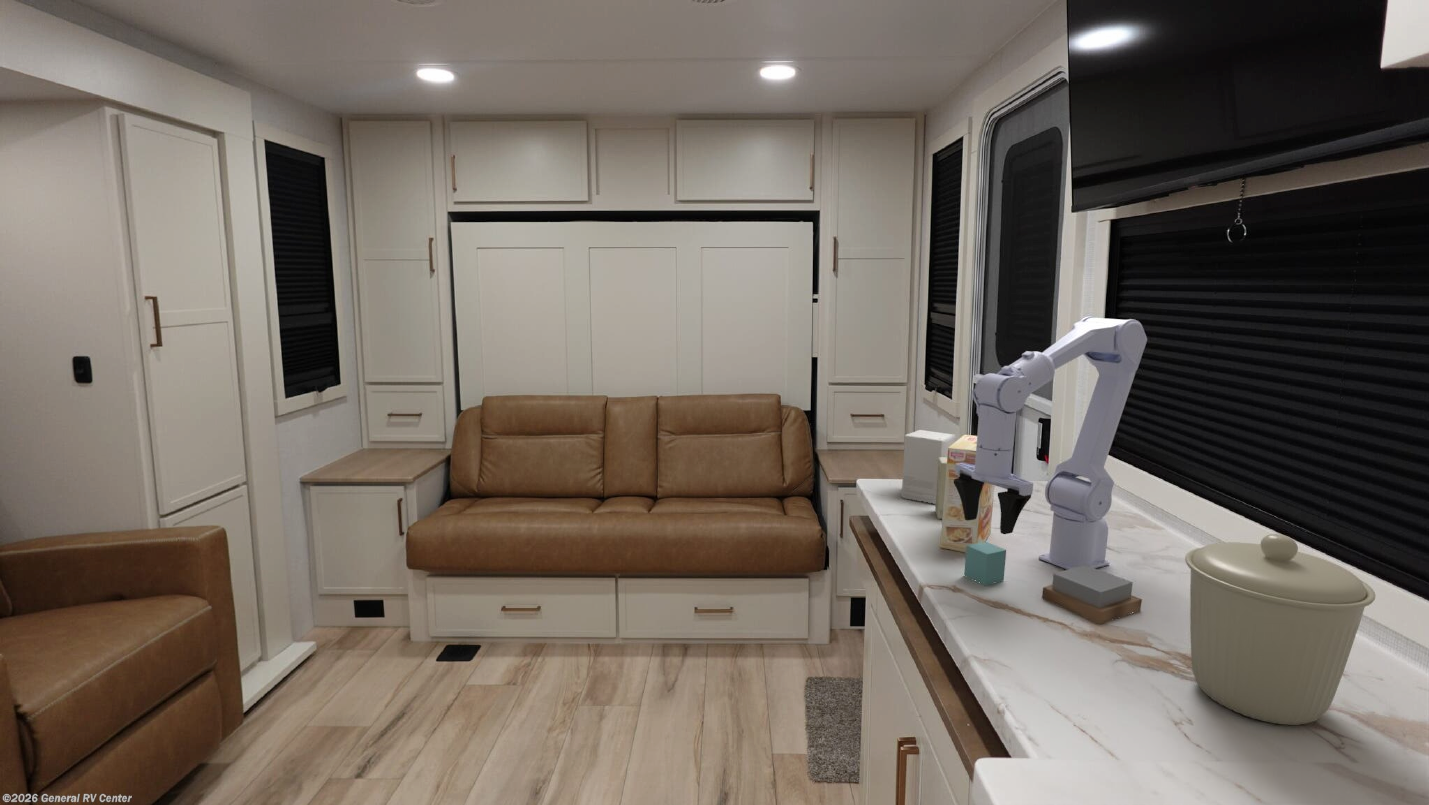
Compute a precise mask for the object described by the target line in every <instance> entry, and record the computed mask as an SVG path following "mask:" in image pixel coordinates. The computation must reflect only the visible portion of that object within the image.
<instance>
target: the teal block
mask: <svg viewBox="0 0 1429 805" xmlns="http://www.w3.org/2000/svg"><path fill="white" fill-rule="evenodd" d="M1006 559H1007V549H1005V548H1003V547H1000V546H997V545H994V544H992V543H989V542H987V541H985V542H981V543H976V544H971V545H967V546H966V553H965V560H964V561H965V562H964V571H963V572H964V574H963V576H964V575H965V576H967V577H969V578H971V579H970V580H972V579H973V580H972V581H974V580H976V581H977V582H976V581H975V582H976V583H978V582H980V583H981V585H983V586H988V585H992V583H993V584H995V583H994V582H997V583H1000V582H999V581H1001V582H1003V581H1002V580H1004V581H1005V570H1006V568H1005V567H1006ZM965 576H964V577H965ZM967 577H966V578H967ZM969 578H968V579H969ZM980 583H979V584H980Z"/></svg>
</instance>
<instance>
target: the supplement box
mask: <svg viewBox="0 0 1429 805" xmlns="http://www.w3.org/2000/svg"><path fill="white" fill-rule="evenodd" d="M956 435H957V434H953V433H946V432H945V433H944V432H940V431H939V432H937V431H930V430H924V429H919V430H915V431H913V432H909V433H907V434H905V435H904V443H903V444H904V450H903V463H902V481H901V482H902V483H901V484H902V485H901V498H902V497H903V498H902V499H906V500H911V499H913V500H912V501H916V500H917V501H916V502H921V501H924V502H923V503H926V502H928V503H927V504H931V503H933V504H932V505H936V492H937V476H938V461H939V457H947V456H948V447H950V446H951V445H952V444H953V443H955V442H956V438H957V436H956Z"/></svg>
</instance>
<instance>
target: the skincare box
mask: <svg viewBox="0 0 1429 805" xmlns="http://www.w3.org/2000/svg"><path fill="white" fill-rule="evenodd" d="M946 468H947V457H939V461H938V476H937V492H936V504H935V509H934V510H935V515H936V517H937V519H939V520H940V519H942V518H943V506H944V494H945V481H946Z"/></svg>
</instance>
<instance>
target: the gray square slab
mask: <svg viewBox="0 0 1429 805" xmlns="http://www.w3.org/2000/svg"><path fill="white" fill-rule="evenodd" d="M1052 576H1053V577H1052V584H1051V585H1052V589H1054V590H1057V591H1059V592H1062V593H1064V594H1066V595H1069V596H1071V597H1074V598H1076V599H1078V600H1081V601H1083V602H1086V603H1088V604H1091V605H1093V606H1095V607H1098V608H1101V607H1104V606H1107V605H1110V604H1113V603H1116V602H1119V601H1122V600H1125V599H1128V598H1131V595H1132V590H1133V581H1131V580H1128V579H1126V578H1123V577H1119V576H1117V575H1114V574H1113V573H1112V574H1111V573H1109V572H1106V571H1103V570H1101V569H1098V568H1093V567H1090V566H1087V565H1082V566H1079V567H1075V568H1072V569H1068V570H1067V569H1065V570H1062V571H1058V572H1054V573H1053V574H1052Z"/></svg>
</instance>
